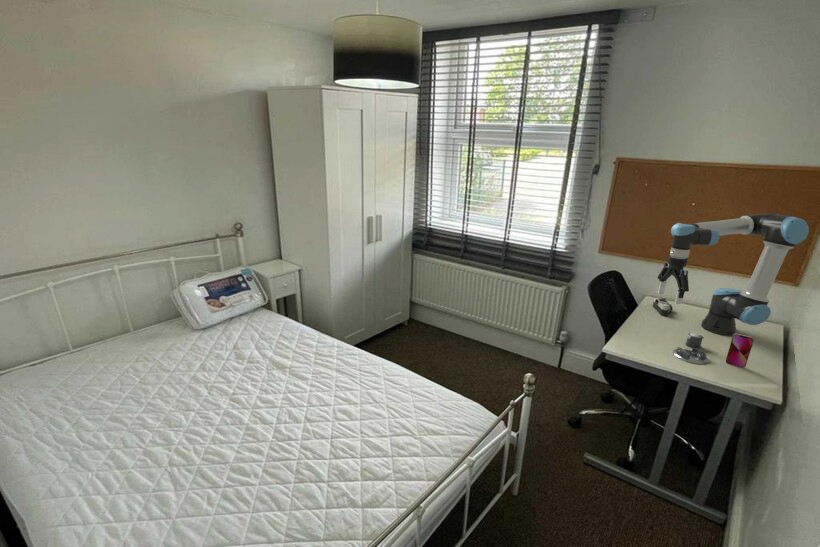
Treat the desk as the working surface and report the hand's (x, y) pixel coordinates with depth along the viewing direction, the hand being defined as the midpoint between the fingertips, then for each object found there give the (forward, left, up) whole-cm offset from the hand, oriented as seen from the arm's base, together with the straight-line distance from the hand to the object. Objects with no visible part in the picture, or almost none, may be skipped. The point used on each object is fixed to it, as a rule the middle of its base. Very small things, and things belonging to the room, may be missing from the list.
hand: (668, 298), depth 196 cm
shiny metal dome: (-6, +15, -24) cm, 29 cm away
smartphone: (-22, +22, -24) cm, 39 cm away
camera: (-25, -37, -24) cm, 51 cm away
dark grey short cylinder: (-15, +4, -24) cm, 28 cm away
